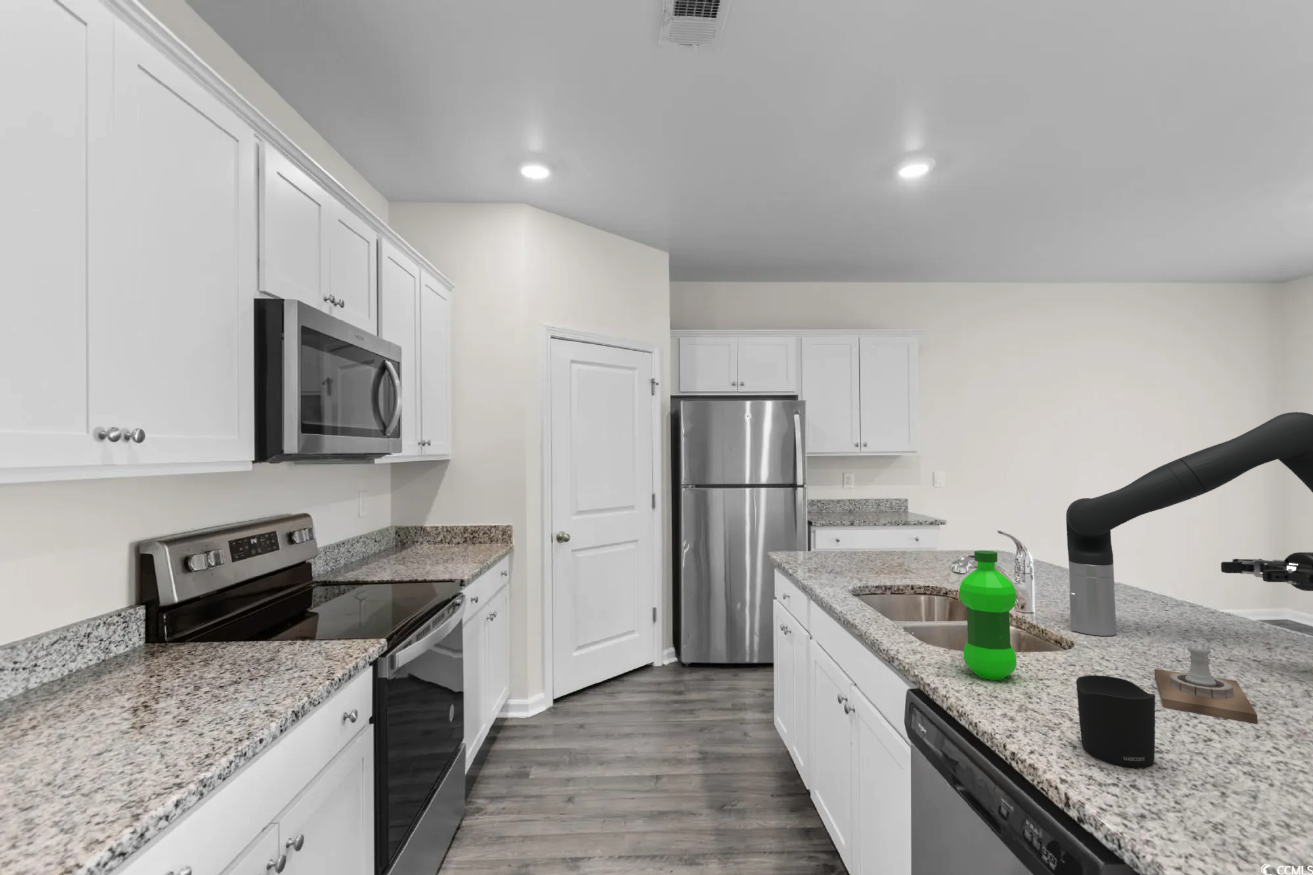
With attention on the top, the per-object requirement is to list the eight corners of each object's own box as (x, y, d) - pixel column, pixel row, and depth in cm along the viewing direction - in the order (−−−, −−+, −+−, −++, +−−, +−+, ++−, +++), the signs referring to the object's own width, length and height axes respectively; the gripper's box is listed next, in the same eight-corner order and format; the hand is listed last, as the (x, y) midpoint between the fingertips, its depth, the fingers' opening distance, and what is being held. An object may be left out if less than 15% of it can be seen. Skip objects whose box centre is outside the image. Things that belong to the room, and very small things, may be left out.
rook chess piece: (1211, 686, 112) (1209, 642, 112) (1222, 695, 108) (1219, 649, 108) (1180, 683, 114) (1178, 639, 114) (1189, 691, 110) (1187, 646, 110)
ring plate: (1162, 707, 107) (1162, 689, 107) (1154, 676, 121) (1154, 661, 121) (1257, 723, 100) (1256, 705, 100) (1236, 688, 114) (1236, 672, 114)
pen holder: (1072, 754, 91) (1069, 687, 91) (1086, 733, 97) (1083, 670, 98) (1153, 777, 84) (1150, 704, 84) (1161, 753, 90) (1158, 685, 91)
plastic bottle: (955, 665, 129) (951, 548, 130) (1009, 668, 127) (1005, 548, 128) (969, 682, 119) (965, 555, 120) (1028, 686, 117) (1023, 556, 118)
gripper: (1286, 546, 127) (1209, 546, 127) (1365, 558, 113) (1279, 558, 113) (1286, 582, 127) (1210, 582, 127) (1366, 599, 113) (1280, 599, 113)
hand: (1242, 571), depth 120 cm, fingers open, 8 cm apart
